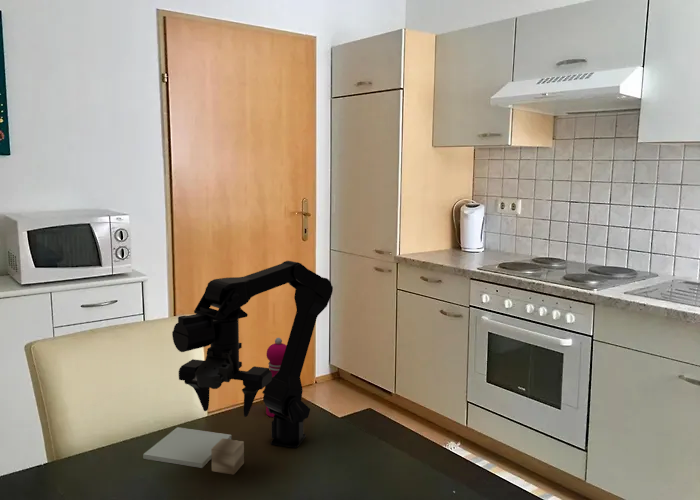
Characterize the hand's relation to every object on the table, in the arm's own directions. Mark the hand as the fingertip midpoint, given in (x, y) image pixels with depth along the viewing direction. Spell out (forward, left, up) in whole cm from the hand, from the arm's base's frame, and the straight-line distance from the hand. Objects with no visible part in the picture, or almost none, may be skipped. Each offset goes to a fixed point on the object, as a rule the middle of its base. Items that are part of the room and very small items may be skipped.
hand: (225, 413), depth 125 cm
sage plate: (+12, -5, -12) cm, 17 cm away
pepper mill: (0, -29, -12) cm, 32 cm away
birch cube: (0, 0, -12) cm, 12 cm away
